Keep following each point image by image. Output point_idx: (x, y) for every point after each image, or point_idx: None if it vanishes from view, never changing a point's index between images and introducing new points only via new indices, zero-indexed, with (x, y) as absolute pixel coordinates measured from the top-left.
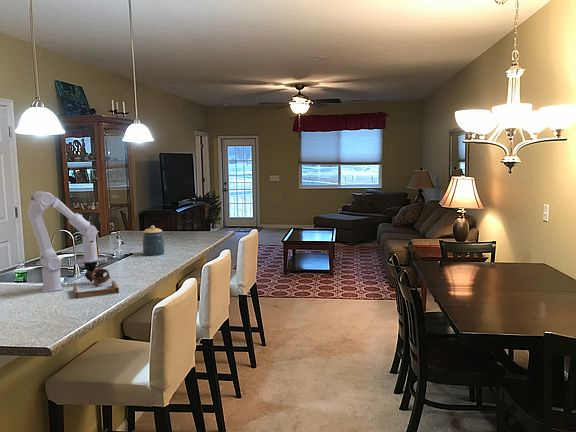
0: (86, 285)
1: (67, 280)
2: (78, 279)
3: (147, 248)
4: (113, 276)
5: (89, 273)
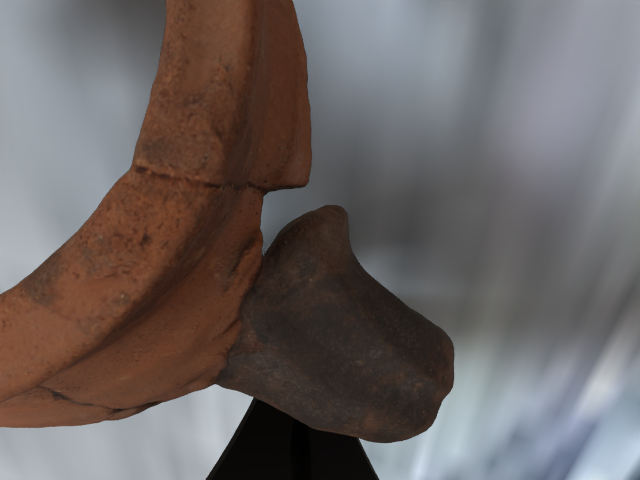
0: (395, 153)
1: (540, 474)
2: (432, 471)
3: None
4: (51, 454)
5: (347, 301)
